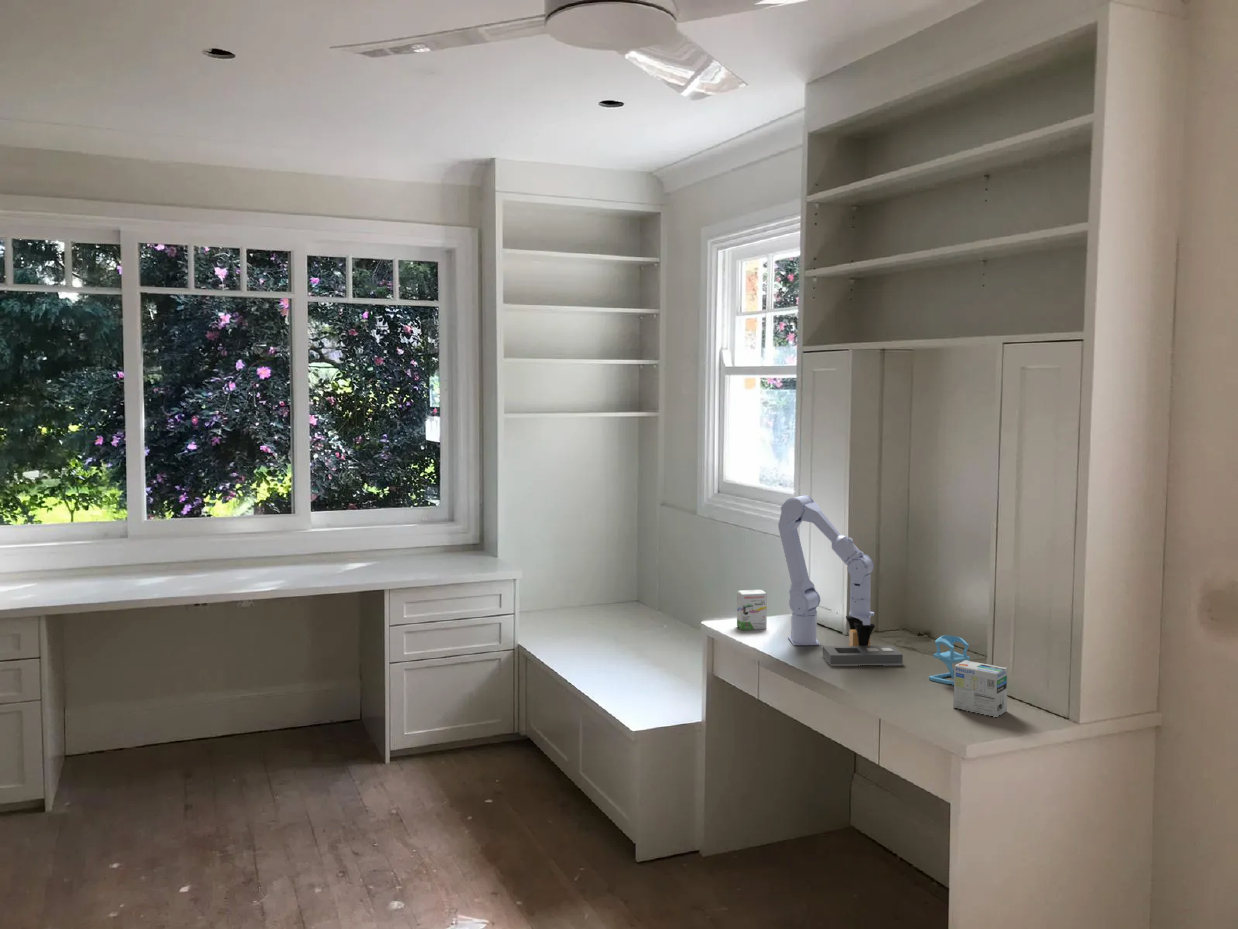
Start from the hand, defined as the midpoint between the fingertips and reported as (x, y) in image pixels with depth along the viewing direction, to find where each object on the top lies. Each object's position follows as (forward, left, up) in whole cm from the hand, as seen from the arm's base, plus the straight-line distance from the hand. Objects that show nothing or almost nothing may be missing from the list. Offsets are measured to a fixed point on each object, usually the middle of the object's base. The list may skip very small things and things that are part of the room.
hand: (859, 643), depth 287 cm
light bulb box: (+52, +15, -2) cm, 54 cm away
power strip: (+10, -2, -2) cm, 10 cm away
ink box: (-28, -27, -2) cm, 39 cm away
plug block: (0, 0, -2) cm, 2 cm away
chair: (+30, +16, -2) cm, 34 cm away
